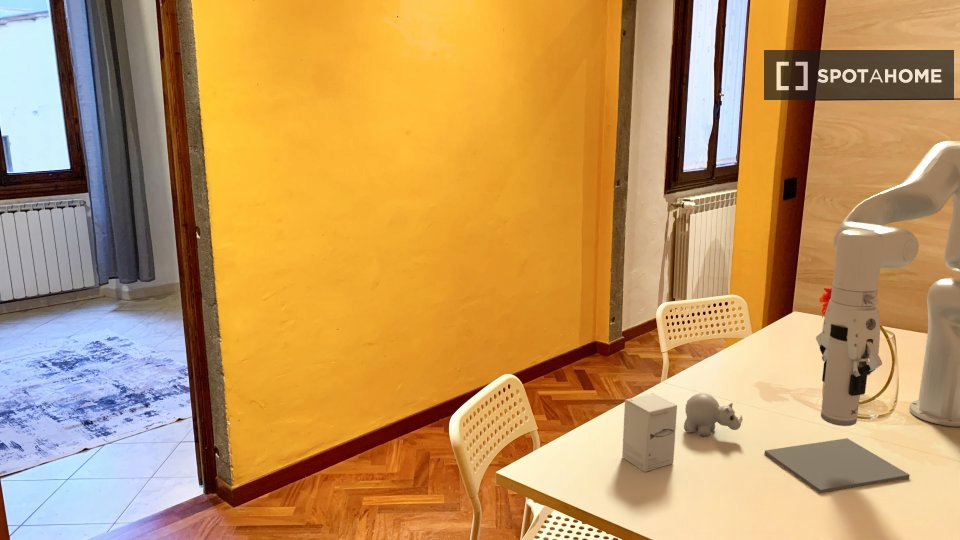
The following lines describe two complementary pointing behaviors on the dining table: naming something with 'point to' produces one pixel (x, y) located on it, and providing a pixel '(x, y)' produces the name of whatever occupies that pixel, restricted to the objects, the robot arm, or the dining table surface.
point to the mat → (835, 465)
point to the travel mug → (839, 382)
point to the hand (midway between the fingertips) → (843, 387)
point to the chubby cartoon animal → (708, 415)
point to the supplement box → (649, 431)
